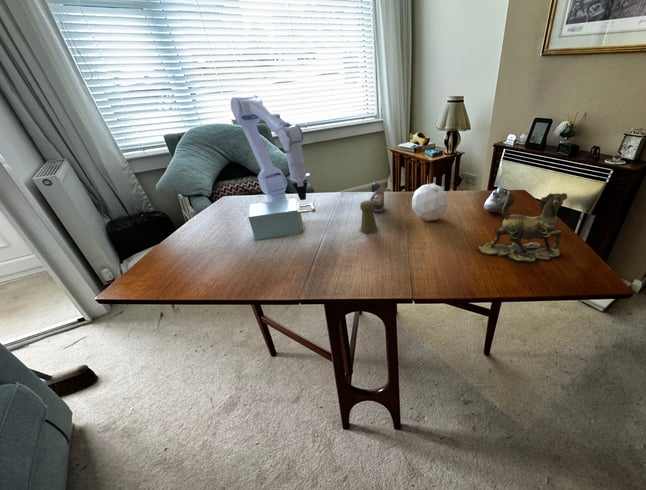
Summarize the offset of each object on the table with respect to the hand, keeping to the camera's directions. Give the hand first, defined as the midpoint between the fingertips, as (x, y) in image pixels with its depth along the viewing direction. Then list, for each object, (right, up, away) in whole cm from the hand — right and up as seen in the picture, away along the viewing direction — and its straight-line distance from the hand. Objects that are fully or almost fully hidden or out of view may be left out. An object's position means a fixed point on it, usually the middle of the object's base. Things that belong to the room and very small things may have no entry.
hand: (302, 199), depth 117 cm
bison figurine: (+28, -1, +15) cm, 32 cm away
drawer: (-5, -10, +2) cm, 11 cm away
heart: (+76, -4, +7) cm, 77 cm away
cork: (+25, -12, -1) cm, 28 cm away
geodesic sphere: (+49, -7, +5) cm, 50 cm away
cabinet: (-10, -11, +1) cm, 15 cm away
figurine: (+74, -22, -19) cm, 79 cm away
